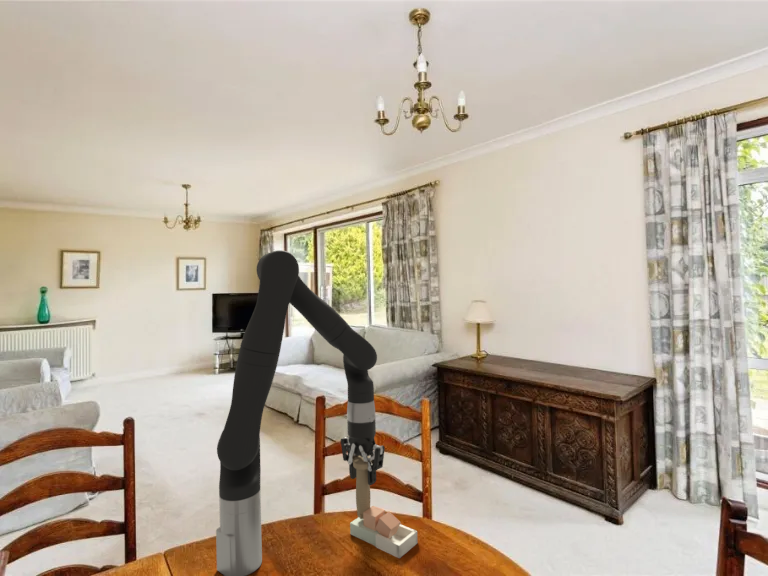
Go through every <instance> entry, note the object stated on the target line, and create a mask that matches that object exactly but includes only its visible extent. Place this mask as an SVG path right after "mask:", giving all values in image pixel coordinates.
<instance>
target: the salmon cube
mask: <svg viewBox="0 0 768 576" xmlns="http://www.w3.org/2000/svg"><path fill="white" fill-rule="evenodd" d="M400 524H401V521H400V520H399V519H398V517H396V516H395V515H394V514H393V513H391V512H390V511H387V512H385V515H383V516H382V517H380V518H379V521H378V523H377V526H376V530H377V531H378V532H379V533H380V534H381V535H382V536H384V537H386V538H391V537H392V536H393V535H394V534H396V533H397V530H398V528H399V525H400Z"/></svg>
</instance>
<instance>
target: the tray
mask: <svg viewBox="0 0 768 576" xmlns="http://www.w3.org/2000/svg"><path fill="white" fill-rule="evenodd" d="M375 536H376V546H375V548H377V549H378V550H381V551H383V552H385V553H387V554H388V555H392V556H393V557H395V558H397V559H401V558H402V557H403V556H405V554H407V553H408V552H409V551H410V550H411V549H412V548H414V547H415V546H416V545H417V544H418V531H417V530H416V529H413V528H412V527H408V526H406V525H403V524H402V523H400V525H399V528H398V530H397V533H396V534H394V535H393V536H392V537H391V538H386V537H384V536H382V535H380V534H376V535H375Z"/></svg>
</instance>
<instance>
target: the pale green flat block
mask: <svg viewBox="0 0 768 576" xmlns="http://www.w3.org/2000/svg"><path fill="white" fill-rule="evenodd" d="M349 529H350V531H349V533H350V534H349V535H351V536H353V537H355V538H358V539H359V540H361V541H364V542H366V543H368V544H370V545H372V546H374V547H376V536H375V535H376V534H380V533H379V532H378V531H377V530H376V531H375V530H372V529H370V528H367V527H365V526H364V523H363V519H360V518H359V517H358V516H357V518H355V519H354V520H352V521H351V522H350V523H349ZM380 535H381V534H380Z"/></svg>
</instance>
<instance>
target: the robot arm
mask: <svg viewBox="0 0 768 576" xmlns="http://www.w3.org/2000/svg"><path fill="white" fill-rule="evenodd" d="M299 273H300V266H299V262H298V260H297V258H296V257H295V256H294V255H293V254H292V253H291V252H289V251H286V250H274V251H270V252H268V253H266V254H264V255H263V256H262V257H261V258H259V260H258V262H257V265H256V275H257V278H258V279H259V286H258V292H257V299H256V304H255V307H254V309H253V312H252V315H251V317H250V318H249V322H248V323H247V327H246V329H245V331H244V333H243V337H242V340H241V343H240V347H239V351H238V355H237V360H236V364H235V371H234V376H233V378H234V379H233V385H232V394H231V402H230V408H229V411H228V415H227V418H226V421H225V424H224V427H223V430H222V431H221V434H220V435H219V439H218V442H217V444H216V445H217V446H216V454H217V457H218V461H219V462H220V463H219V465H220V467H219V468H220V471H219V483H218V484H219V485H218V494H219V496H218V497H219V499H218V501H219V527H217V528H216V530H215V534H216V535H215V537H216V538H215V540H216V543H215V545H216V546H215V547H216V548H215V549H216V571H218V572H219V573H220V574H222V575H223V576H249V575H250V574H253V573H254V572H255V571H257V570H258V569H259V568H260V567H261V565H262V562H263V551H262V550H263V547H262V545H263V544H262V500H261V498H262V497H261V496H262V495H261V491H262V490H261V435H260V433H261V426H262V419H263V413H264V409H265V405H266V403H267V399H268V396H269V393H270V391H271V387H272V385H273V384H272V383H273V382H274V378H275V375H276V374H275V373H276V370H277V367H278V363H279V358H280V353H281V347H282V341H283V338H284V333H285V326H286V325H285V324H286V319H287V312H288V309H289V305H291V306H292V307H294V309H295V310H296V311H297V312H298V313H299V314H300V315H302V317H304V319H305V320H306V321H307V322H308V323H309V324H310V325H311V326H312V327H313V329H314V330H316V332H317V333H319V335H320V336H321V337H322V338H323V339H325V341H326V342H327V343H328V344H329V345H331V346H332V347H333V348H335V349H337V350H339V352H341V353H342V354H343V356H342V361H343V367H344V368H343V369H344V374H345V378H346V382H347V406H346V407H347V408H346V418H347V420H346V421H347V422H346V423H347V436H345V437H342V438H340V445H341V452H342V453H341V454H342V460H343V461H345V462H347V463H348V469H349V471H348V472H349V478H350V479H353V480H354V479H356V474H357V472H356V468H354V466H353V459H354V458H355V457H359V456H361V457H363V460H364V462H365V463H366V464H367V467H368V485H370V486H372V485H374V484H375V483H376V482H377V471H378V470H379V469H381V468H383V466H384V458H385V457H384V456H385V450H386V449H385V445H378V444H377V443H376V440H375V437H376V429H377V427H376V426H377V425H376V406H375V405H376V404H375V388H374V387H375V386H374V381H373V380H372V378H371V377H370V376H369V372H368V371H369V370H371V369H373V368H374V367H375V365H376V364H377V361H378V354H377V350H376V349H375V348H374V346H373V344H371V343H370V341H367V339H365V338H364V337H363V336H362V335H361V334H359V333H358V332H356V330H355V329H353V328H352V327H351V326H350V325H349V324H348V322H347V321H346V320H345V319H344V317H342V316H341V315H340V314H339V313H338V312H337V311H336V310H335V309H334V308H333V307H332V306H331V305H330V304H328V303H327V302H326V301H324V299H322V298H321V297H319V296H318V295H317V294H316V293H315V292H314V291H312V289H311V288H310V287H309V286H308V285H307V284H306V282H304V281H303V279H302V278H301V277H300V276H299ZM367 456H369V458H368V457H367ZM370 461H371V462H372V464H371V462H370Z"/></svg>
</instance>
